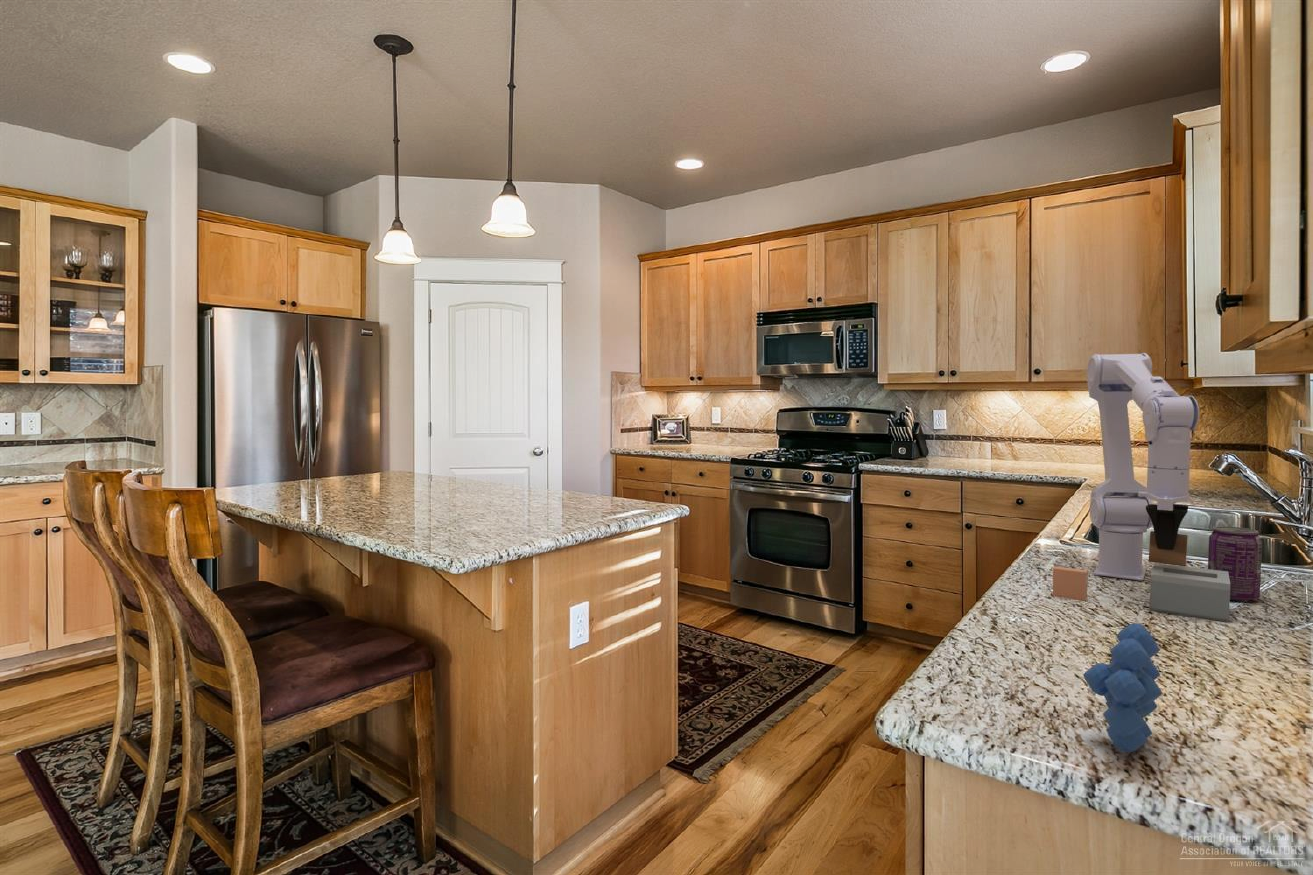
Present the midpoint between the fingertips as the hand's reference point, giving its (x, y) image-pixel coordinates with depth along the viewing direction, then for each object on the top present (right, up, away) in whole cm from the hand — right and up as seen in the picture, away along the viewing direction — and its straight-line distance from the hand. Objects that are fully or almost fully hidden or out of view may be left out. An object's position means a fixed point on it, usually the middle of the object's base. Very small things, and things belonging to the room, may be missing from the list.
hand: (1165, 547), depth 116 cm
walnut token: (0, -3, 0) cm, 3 cm away
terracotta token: (-14, -9, +4) cm, 17 cm away
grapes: (-39, -12, -47) cm, 62 cm away
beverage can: (+15, -10, +4) cm, 18 cm away
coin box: (+2, -10, -3) cm, 10 cm away
